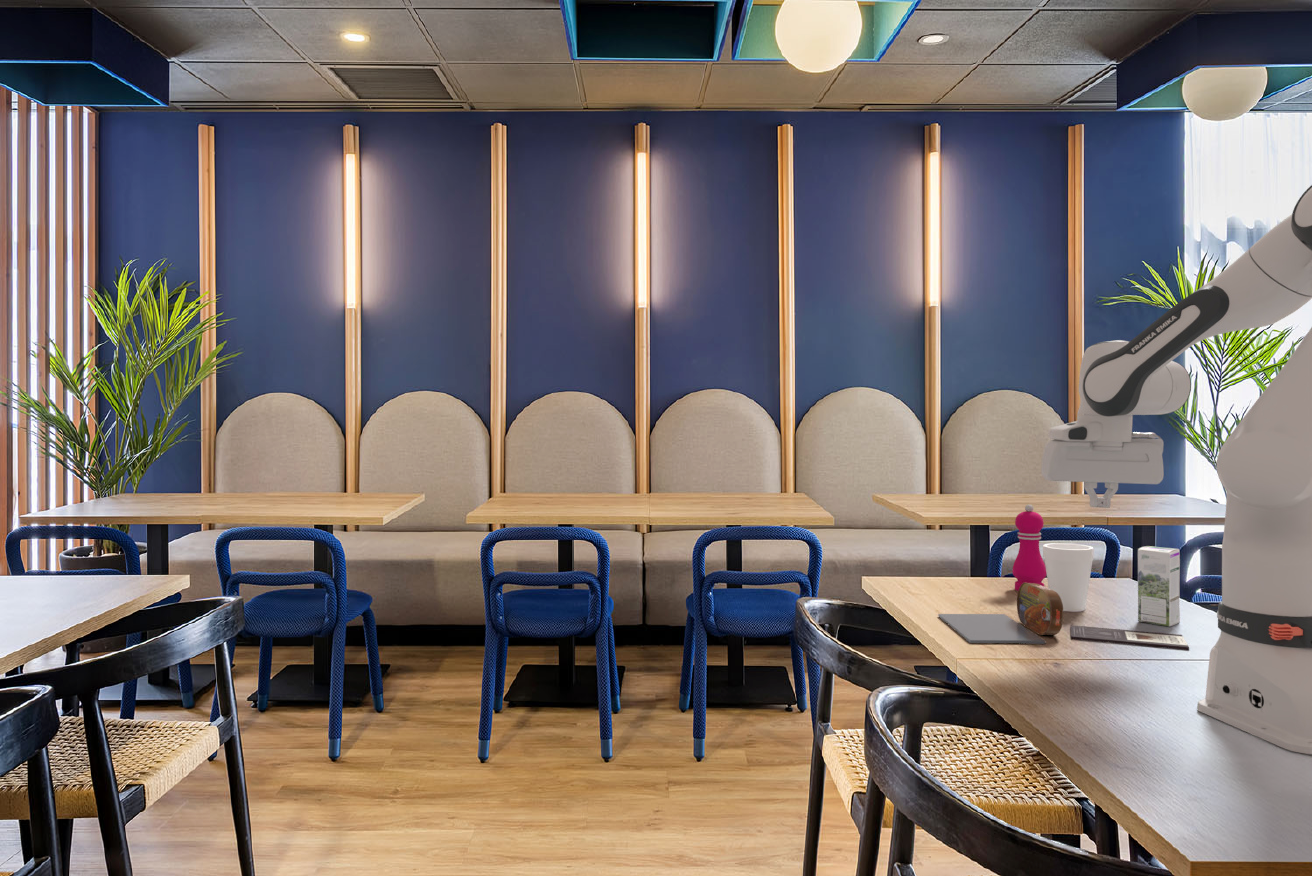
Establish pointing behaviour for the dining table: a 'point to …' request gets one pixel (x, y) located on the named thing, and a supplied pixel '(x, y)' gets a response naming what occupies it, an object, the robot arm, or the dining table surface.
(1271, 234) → the robot arm
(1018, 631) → the slate board
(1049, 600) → the tin
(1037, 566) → the pepper mill
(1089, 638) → the chocolate bar
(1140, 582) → the syrup box
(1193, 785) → the dining table surface
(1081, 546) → the foam cup
